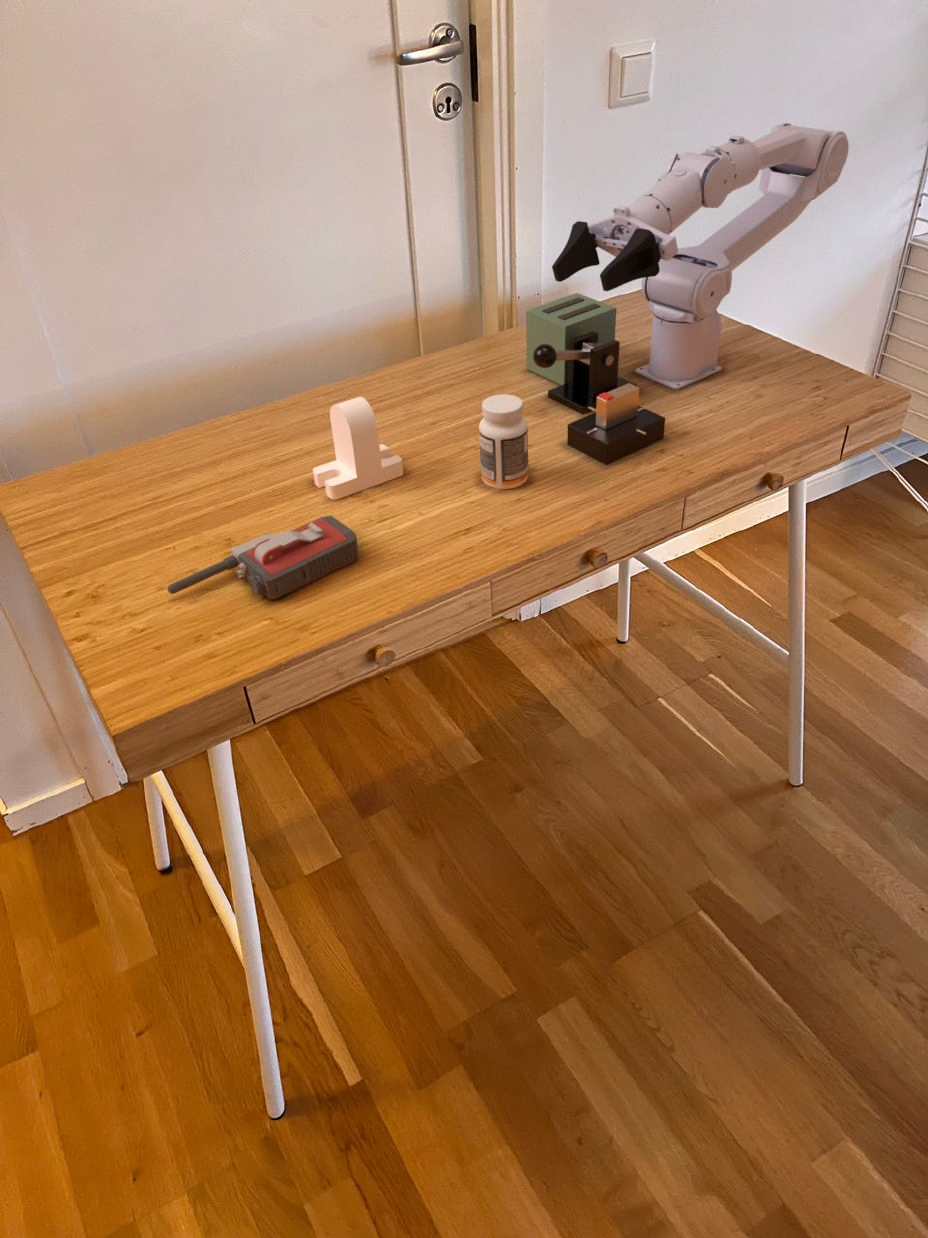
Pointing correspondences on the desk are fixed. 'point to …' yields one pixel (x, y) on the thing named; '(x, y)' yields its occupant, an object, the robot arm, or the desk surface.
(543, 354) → the lever
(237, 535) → the desk surface
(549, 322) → the toaster
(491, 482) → the pill bottle
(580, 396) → the lever bracket
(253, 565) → the walkie-talkie
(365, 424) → the white phone stand
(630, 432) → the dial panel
